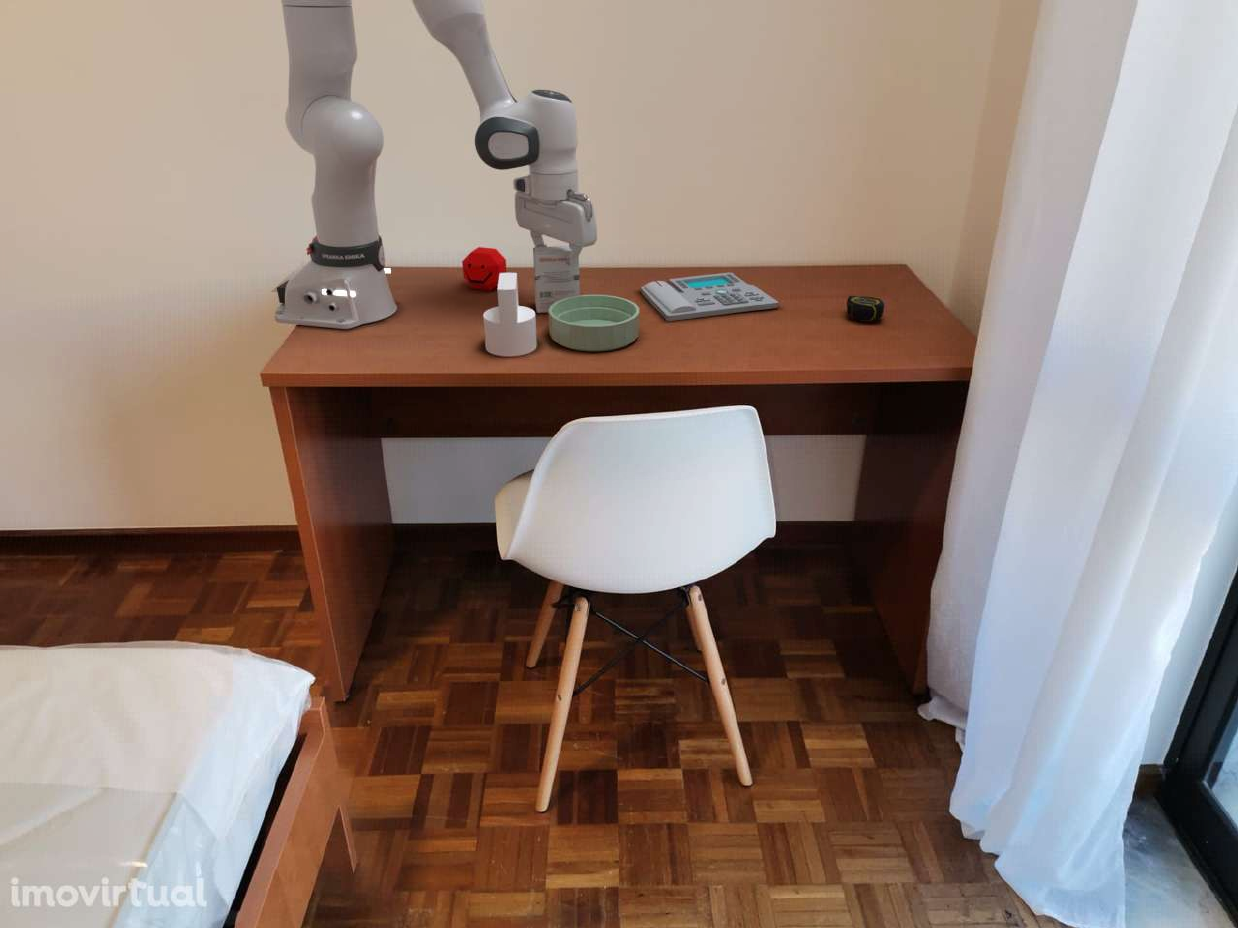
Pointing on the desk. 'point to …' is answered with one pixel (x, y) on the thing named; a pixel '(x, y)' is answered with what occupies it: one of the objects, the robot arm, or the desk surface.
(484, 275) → the ball
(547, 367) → the desk surface
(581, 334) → the bowl
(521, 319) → the base with upright slab
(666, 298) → the office telephone
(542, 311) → the ink box
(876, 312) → the tape measure
